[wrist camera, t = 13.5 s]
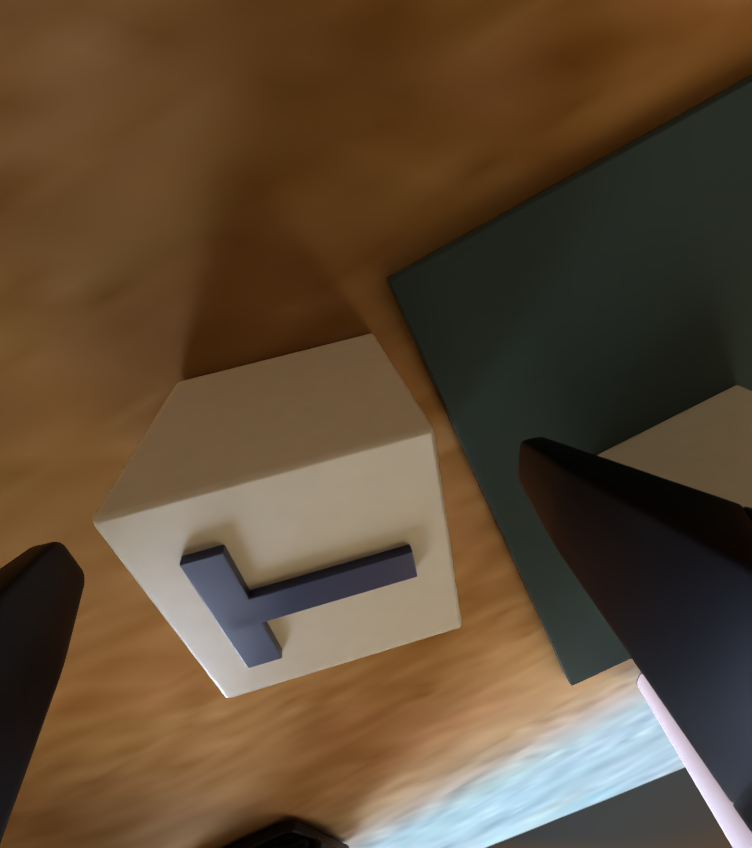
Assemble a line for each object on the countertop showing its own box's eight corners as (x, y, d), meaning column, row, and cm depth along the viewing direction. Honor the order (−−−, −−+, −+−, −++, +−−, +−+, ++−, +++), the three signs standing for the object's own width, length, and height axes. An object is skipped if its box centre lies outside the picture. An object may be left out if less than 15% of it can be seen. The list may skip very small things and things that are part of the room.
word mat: (566, 677, 19) (571, 686, 18) (385, 277, 9) (389, 280, 8) (790, 572, 18) (800, 579, 18) (880, 2, 8) (907, -7, 8)
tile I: (612, 547, 14) (742, 686, 10) (591, 456, 12) (748, 588, 8) (733, 488, 14) (918, 607, 10) (736, 383, 11) (978, 481, 7)
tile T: (247, 527, 11) (223, 710, 7) (175, 381, 9) (80, 530, 5) (404, 484, 11) (466, 636, 7) (373, 331, 9) (439, 432, 5)
